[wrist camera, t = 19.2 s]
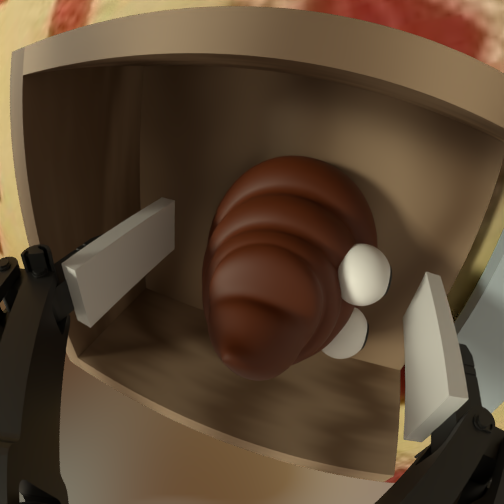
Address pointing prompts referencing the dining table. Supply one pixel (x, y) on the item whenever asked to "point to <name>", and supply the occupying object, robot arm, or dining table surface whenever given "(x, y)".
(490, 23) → the dining table surface
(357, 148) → the box
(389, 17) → the dining table surface
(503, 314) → the door
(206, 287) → the poop emoji
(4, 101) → the dining table surface
